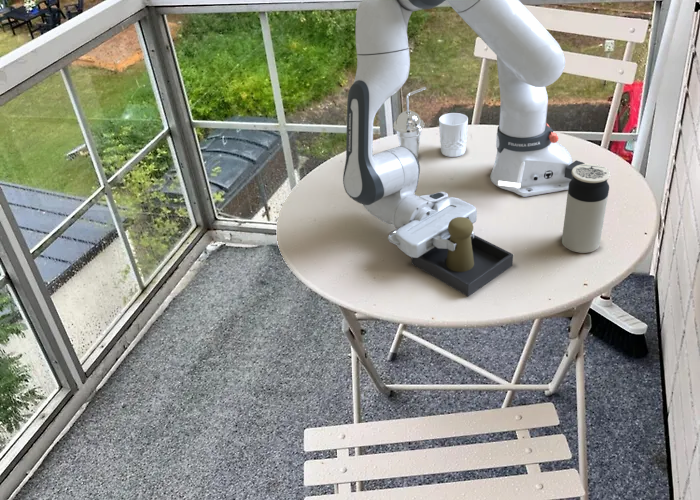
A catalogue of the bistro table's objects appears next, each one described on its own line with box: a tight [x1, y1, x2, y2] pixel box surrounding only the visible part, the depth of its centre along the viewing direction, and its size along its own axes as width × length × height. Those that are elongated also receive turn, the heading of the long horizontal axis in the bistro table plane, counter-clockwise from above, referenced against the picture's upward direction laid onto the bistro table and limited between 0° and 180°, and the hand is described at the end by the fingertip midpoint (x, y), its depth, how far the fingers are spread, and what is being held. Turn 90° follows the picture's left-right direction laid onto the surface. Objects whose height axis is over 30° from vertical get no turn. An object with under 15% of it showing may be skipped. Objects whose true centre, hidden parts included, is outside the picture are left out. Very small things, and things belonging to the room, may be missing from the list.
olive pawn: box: [446, 217, 474, 272], centre depth 139 cm, size 6×6×11 cm
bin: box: [411, 234, 514, 297], centre depth 141 cm, size 16×14×3 cm
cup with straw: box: [392, 86, 427, 160], centre depth 178 cm, size 8×9×20 cm
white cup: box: [438, 112, 469, 158], centre depth 181 cm, size 8×8×10 cm
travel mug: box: [561, 163, 611, 254], centre depth 139 cm, size 8×8×18 cm
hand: (464, 241), depth 138 cm, fingers closed on olive pawn, 4 cm apart
